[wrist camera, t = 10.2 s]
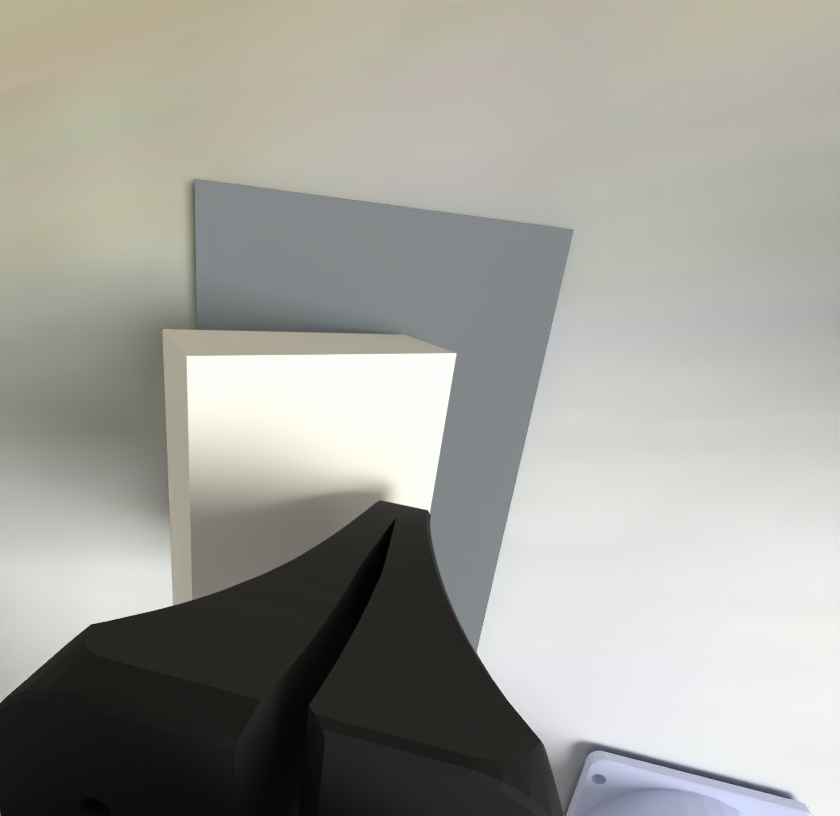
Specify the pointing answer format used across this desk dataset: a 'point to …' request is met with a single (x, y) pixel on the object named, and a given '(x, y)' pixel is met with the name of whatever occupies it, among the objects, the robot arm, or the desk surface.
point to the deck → (291, 442)
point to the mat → (403, 328)
